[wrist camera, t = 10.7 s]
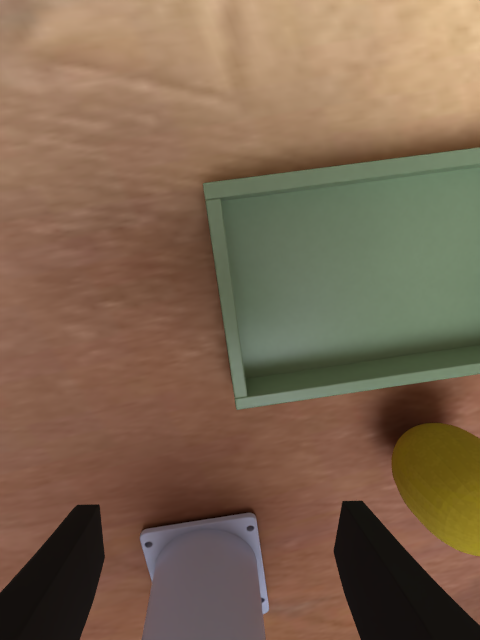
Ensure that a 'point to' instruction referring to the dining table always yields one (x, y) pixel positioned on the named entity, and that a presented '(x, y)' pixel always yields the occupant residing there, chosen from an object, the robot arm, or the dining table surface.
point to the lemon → (441, 482)
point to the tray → (349, 276)
